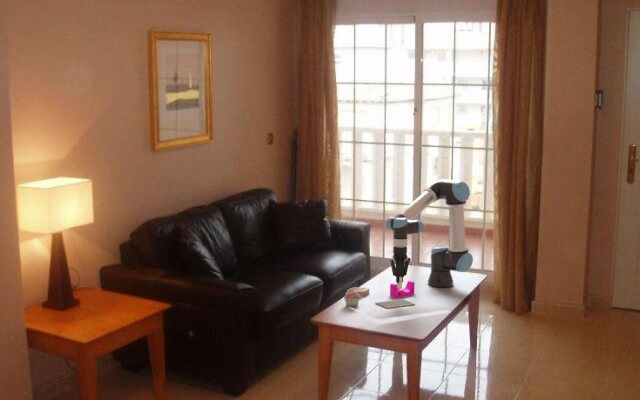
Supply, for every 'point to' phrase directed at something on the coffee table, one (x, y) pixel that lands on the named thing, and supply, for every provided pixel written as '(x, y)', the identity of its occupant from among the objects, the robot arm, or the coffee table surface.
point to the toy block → (404, 292)
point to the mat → (394, 303)
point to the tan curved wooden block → (361, 291)
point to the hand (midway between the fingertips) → (399, 288)
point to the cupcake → (352, 298)
